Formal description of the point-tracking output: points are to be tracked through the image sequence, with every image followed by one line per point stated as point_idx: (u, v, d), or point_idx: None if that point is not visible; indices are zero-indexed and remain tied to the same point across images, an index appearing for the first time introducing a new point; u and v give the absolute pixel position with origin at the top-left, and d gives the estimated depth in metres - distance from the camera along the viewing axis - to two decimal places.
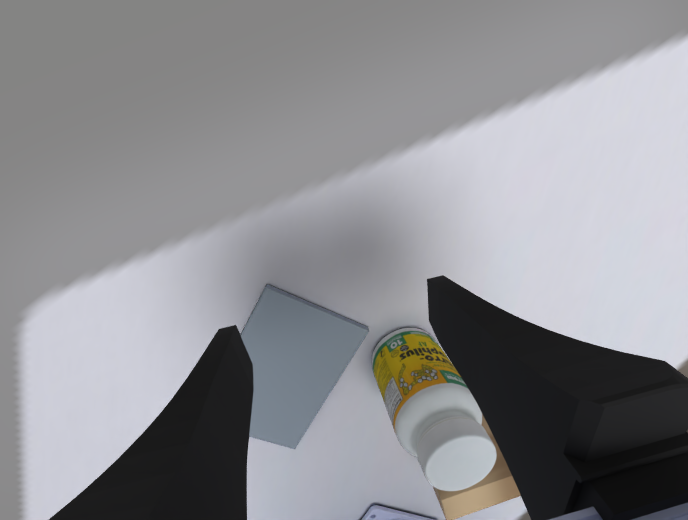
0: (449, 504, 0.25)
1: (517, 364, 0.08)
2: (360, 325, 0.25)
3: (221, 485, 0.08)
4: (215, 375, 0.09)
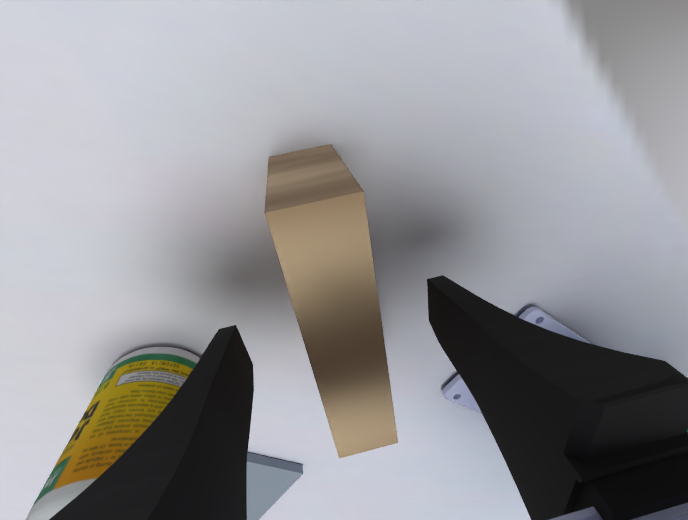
0: (354, 446, 0.14)
1: (517, 364, 0.08)
2: None
3: (221, 485, 0.08)
4: (215, 375, 0.09)
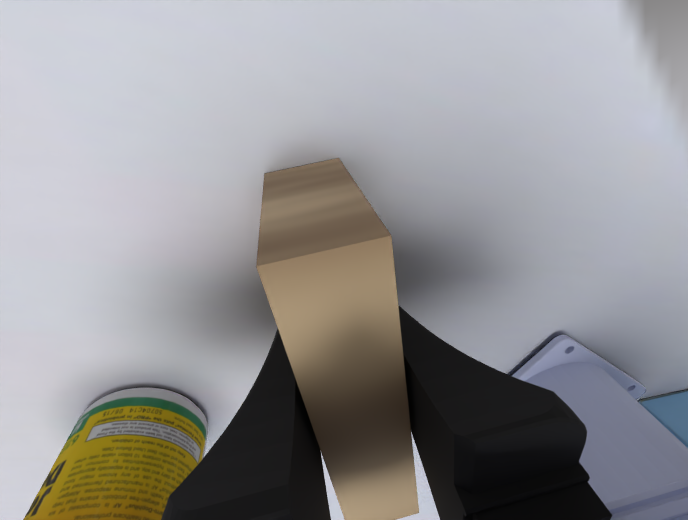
0: None
1: (420, 389, 0.08)
2: None
3: (312, 460, 0.09)
4: None
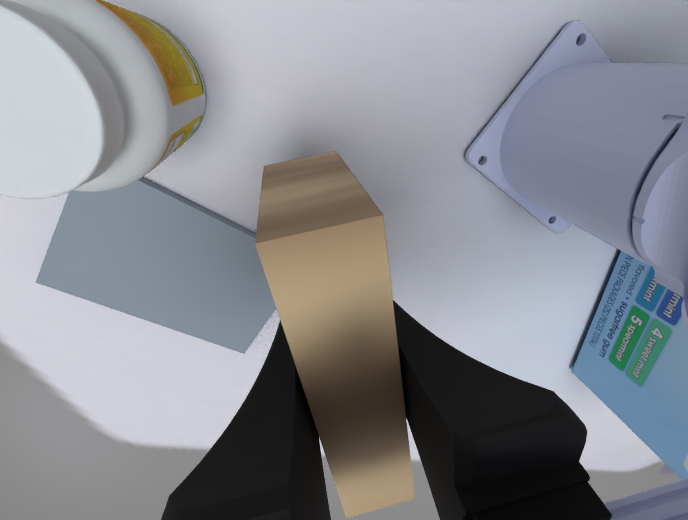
0: (365, 505, 0.12)
1: (420, 389, 0.08)
2: None
3: (312, 460, 0.09)
4: None
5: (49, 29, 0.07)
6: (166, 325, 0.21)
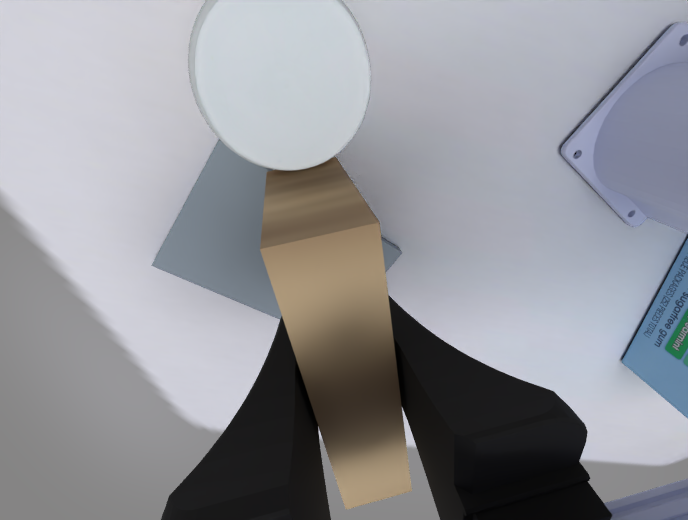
0: (363, 497, 0.12)
1: (420, 389, 0.08)
2: (213, 150, 0.17)
3: (312, 460, 0.09)
4: None
5: None
6: (263, 310, 0.22)
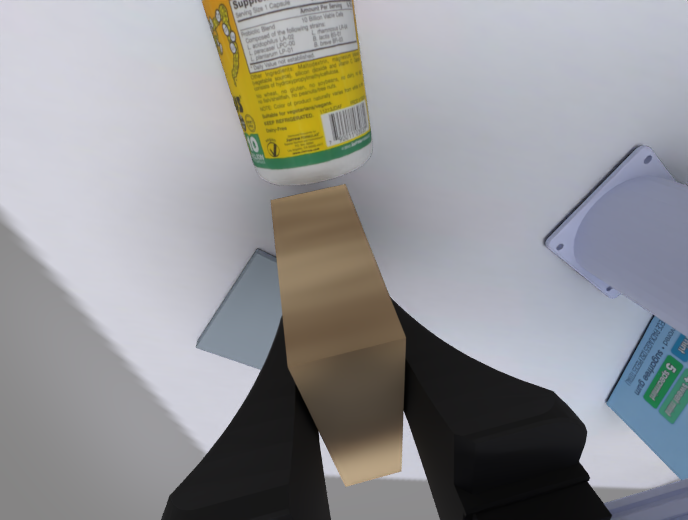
0: (361, 479, 0.15)
1: (420, 389, 0.08)
2: (251, 259, 0.20)
3: (312, 460, 0.09)
4: None
5: None
6: None
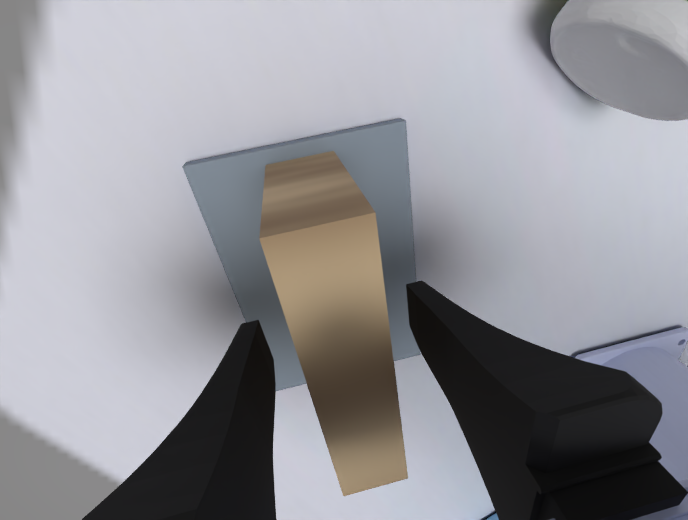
0: (360, 484, 0.13)
1: (483, 373, 0.08)
2: (385, 123, 0.13)
3: (254, 476, 0.08)
4: (244, 368, 0.10)
5: None
6: (246, 315, 0.15)
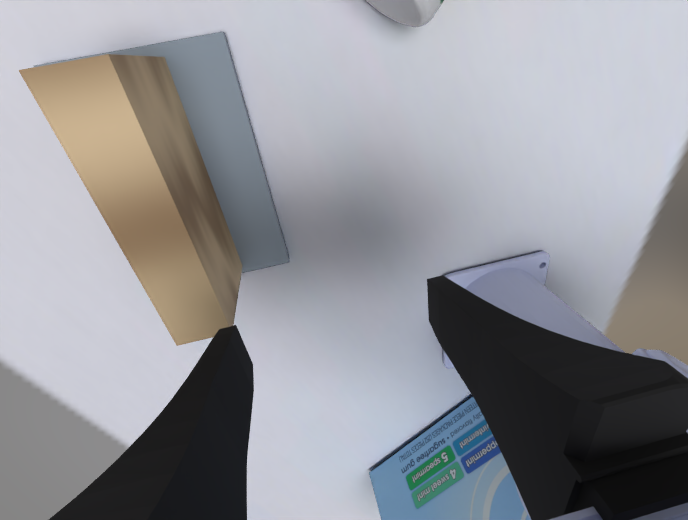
0: (189, 333, 0.15)
1: (516, 364, 0.08)
2: None
3: (221, 485, 0.08)
4: (215, 375, 0.09)
5: None
6: None
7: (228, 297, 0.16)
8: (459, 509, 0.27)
